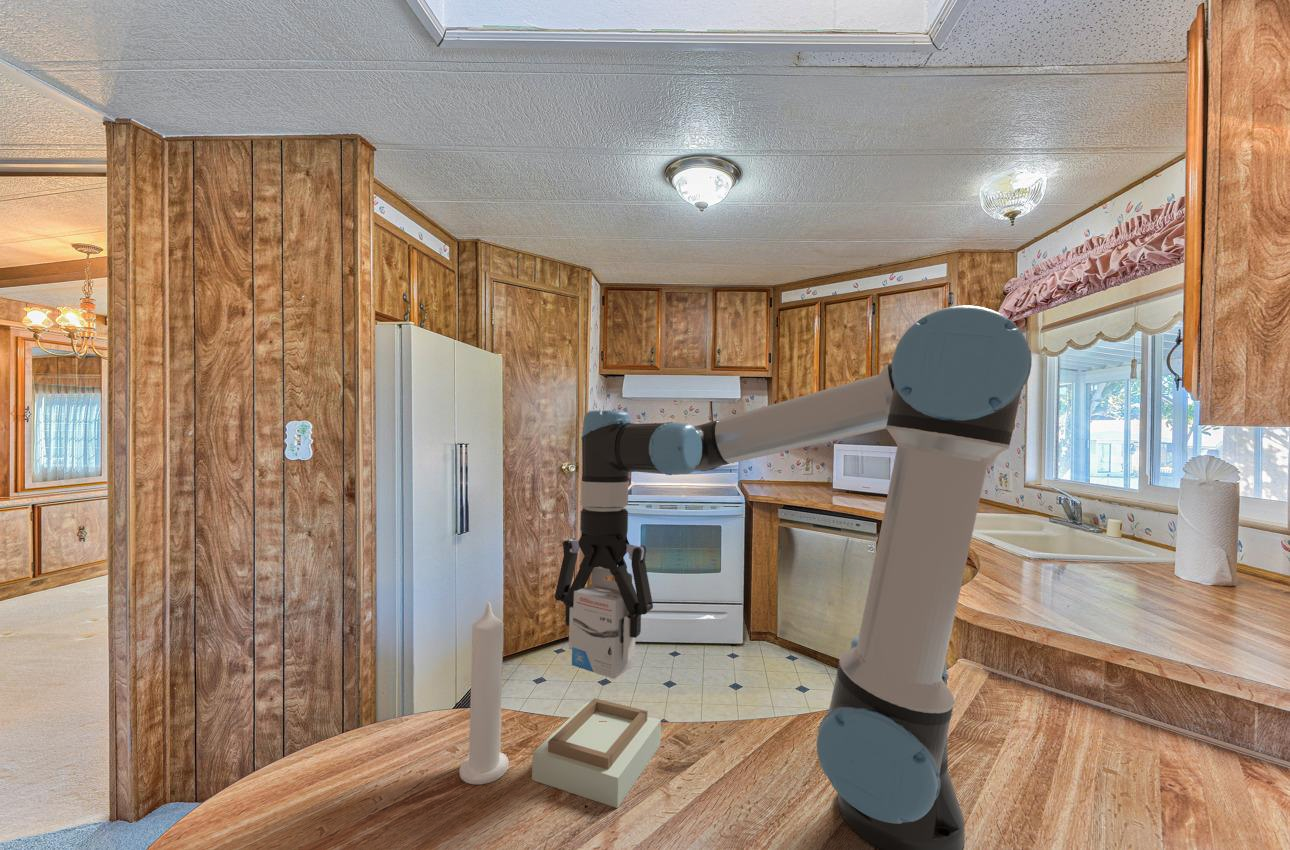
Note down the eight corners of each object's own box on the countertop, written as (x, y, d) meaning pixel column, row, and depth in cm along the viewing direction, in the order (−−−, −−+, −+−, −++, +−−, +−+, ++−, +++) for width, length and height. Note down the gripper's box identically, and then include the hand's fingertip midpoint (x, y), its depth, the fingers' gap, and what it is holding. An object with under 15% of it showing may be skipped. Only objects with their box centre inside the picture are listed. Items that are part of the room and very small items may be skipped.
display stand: (660, 744, 83) (660, 710, 83) (617, 808, 68) (618, 766, 69) (586, 725, 89) (587, 693, 89) (532, 779, 74) (532, 741, 74)
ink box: (570, 666, 79) (572, 571, 80) (589, 655, 84) (591, 565, 84) (614, 680, 75) (616, 580, 76) (632, 668, 79) (634, 573, 80)
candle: (494, 788, 72) (498, 611, 73) (449, 781, 73) (454, 607, 74) (516, 758, 79) (520, 597, 80) (475, 752, 80) (479, 593, 81)
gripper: (676, 509, 79) (674, 655, 78) (559, 501, 88) (556, 632, 87) (658, 515, 72) (656, 674, 72) (533, 505, 81) (530, 648, 80)
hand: (601, 651), depth 79 cm, fingers closed on ink box, 9 cm apart
